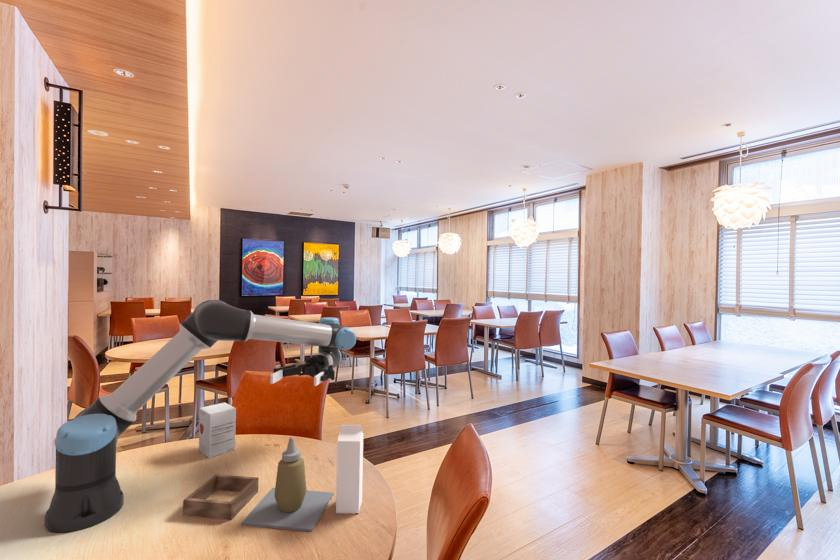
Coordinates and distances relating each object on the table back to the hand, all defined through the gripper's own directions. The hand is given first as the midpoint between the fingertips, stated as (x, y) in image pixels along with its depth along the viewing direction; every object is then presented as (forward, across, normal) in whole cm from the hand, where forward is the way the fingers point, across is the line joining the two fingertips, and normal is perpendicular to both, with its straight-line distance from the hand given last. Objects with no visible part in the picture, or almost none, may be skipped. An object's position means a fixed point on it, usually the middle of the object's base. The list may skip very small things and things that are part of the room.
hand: (293, 380), depth 116 cm
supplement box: (-15, +34, -30) cm, 48 cm away
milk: (+11, -21, -30) cm, 38 cm away
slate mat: (+14, -6, -30) cm, 34 cm away
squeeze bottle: (+14, -6, -30) cm, 33 cm away
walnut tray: (+14, +13, -30) cm, 35 cm away
